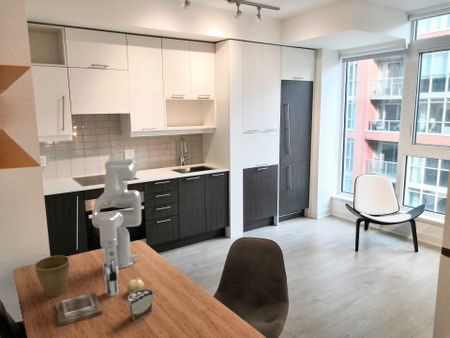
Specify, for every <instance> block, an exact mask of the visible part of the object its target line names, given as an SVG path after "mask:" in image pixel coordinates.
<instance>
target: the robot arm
mask: <svg viewBox="0 0 450 338" xmlns="http://www.w3.org/2000/svg"><path fill="white" fill-rule="evenodd" d="M104 169H105V177H104V188H103V189H104V190H103V193H102V194H101V195H100V196H99V197H98V198H97V199H96V200H95V203H94V205H93V207H92V215H91V222H92V225H93V227H95V228H97V229H99V239H100V240H99V242H100V243H99V244H100V247H101V248H102V253H103V255H102V256H103V262H104V263H105V264H106V266H107V268H109V271H110V273H109V279H110V282H111V281H116V280H117V273H116V267H115V266H117V267H118V269H121V268H123V269H124V268H127V267H130V266H132V265H133V264H134V262H135V260H134V259H139V258H140V254H136V253H133V254H131V239H130V232H129V229H127V228H129V227H139V226H141V225H142V224H141V223H142V198H141V193H140V191H138V190H135V189H133V190H131V189H130V190H128V181H133V180H134V179H135V177H136V174H137V171H138V162H137V161H136V160H135V159H130V158H129V159H125V158H124V159H109V160H107V161H106V162H105V163H104ZM109 202H111V204H112V206H113V207H114V208H120V209H117V210H113V211H101V208H102V207H103V206H104V205H106V204H107V203H109ZM121 208H132V209H121ZM110 266H111V267H110ZM111 268H112V269H111Z"/></svg>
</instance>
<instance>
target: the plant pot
mask: <svg viewBox="0 0 450 338" xmlns="http://www.w3.org/2000/svg"><path fill="white" fill-rule="evenodd" d="M33 266H34V270H35V273H36V275H37V278H38V281H39V283H40V286H41V287H42V289H43V290H44V292H45V294H46V295H47V296H48V297H50V298H52V297H58V296H61V295H62V294H63V293H64V292H65V288H66V286H67V281H68V276H69V268H70V258H69V256H65V255H52V256H48V257H44V258H41V259H40V260H38V261H37V262H36V263H35V264H34V265H33Z"/></svg>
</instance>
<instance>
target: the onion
mask: <svg viewBox="0 0 450 338" xmlns="http://www.w3.org/2000/svg"><path fill="white" fill-rule="evenodd" d="M126 289H127V291H128V293H129V294H131V293H132V292H134V291H136V290H139V289H145V283H144V281H143V280H142V279H141V278H140V277H138V276H136V278H133V279H131V280H130V281H129V282H128V283H127V285H126Z"/></svg>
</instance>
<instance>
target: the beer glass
mask: <svg viewBox="0 0 450 338" xmlns="http://www.w3.org/2000/svg"><path fill="white" fill-rule="evenodd" d="M102 267H103V269H102V271H103V272H102V273H103V280H104V283H105V287H106V288H105V295H106V296H108V297H113V296H117V295H118V294H119V293H120V289H119V285H118V284H119V276H120V275H119V274H120V272H119V271H120V270H119V268H118V267H117V266H115V267H116V273H117V280H116V281H111V282H110V279H109V273H110V271H109V268H107V266H106V264H105V262H104V263H103V265H102ZM110 267H111V266H110ZM111 269H112V268H111Z"/></svg>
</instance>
